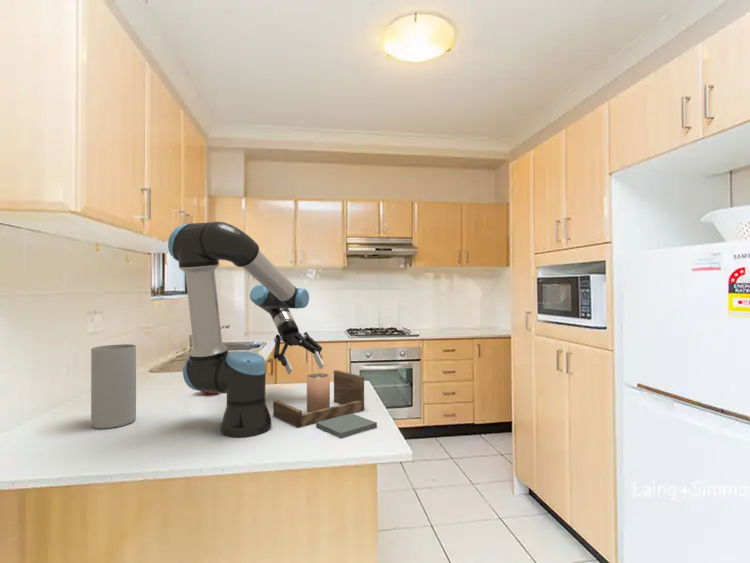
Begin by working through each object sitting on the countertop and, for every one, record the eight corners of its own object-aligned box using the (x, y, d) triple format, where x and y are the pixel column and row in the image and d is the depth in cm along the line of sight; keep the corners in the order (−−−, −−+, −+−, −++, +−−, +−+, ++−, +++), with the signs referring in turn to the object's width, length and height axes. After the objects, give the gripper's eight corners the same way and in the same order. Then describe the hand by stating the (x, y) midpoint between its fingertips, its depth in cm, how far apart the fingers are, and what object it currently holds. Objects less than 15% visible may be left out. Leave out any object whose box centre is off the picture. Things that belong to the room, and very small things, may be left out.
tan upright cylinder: (314, 417, 141) (314, 379, 141) (302, 412, 147) (302, 375, 147) (334, 412, 146) (334, 375, 146) (321, 408, 152) (321, 372, 152)
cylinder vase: (90, 432, 128) (90, 350, 128) (92, 421, 139) (92, 346, 139) (136, 424, 135) (136, 347, 135) (135, 415, 145) (135, 343, 146)
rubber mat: (340, 438, 121) (340, 433, 121) (316, 427, 131) (316, 422, 131) (376, 427, 130) (376, 422, 130) (351, 417, 140) (351, 413, 140)
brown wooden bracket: (297, 427, 131) (297, 389, 131) (273, 415, 143) (273, 380, 143) (364, 410, 148) (364, 376, 148) (337, 401, 161) (336, 370, 161)
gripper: (309, 329, 175) (330, 370, 164) (253, 334, 159) (272, 380, 147) (316, 317, 171) (338, 359, 160) (260, 321, 155) (279, 367, 144)
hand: (306, 369), depth 154 cm, fingers open, 13 cm apart
